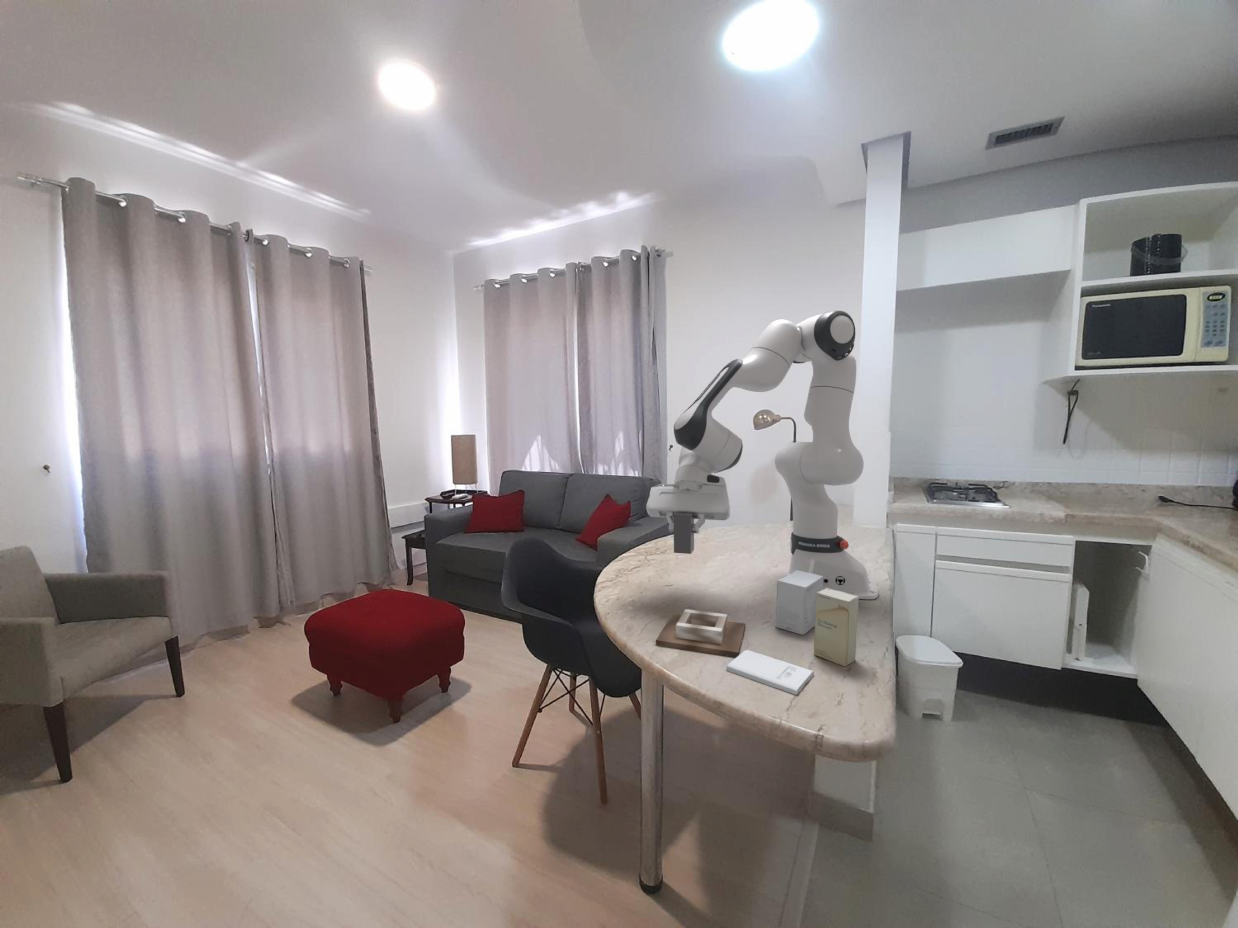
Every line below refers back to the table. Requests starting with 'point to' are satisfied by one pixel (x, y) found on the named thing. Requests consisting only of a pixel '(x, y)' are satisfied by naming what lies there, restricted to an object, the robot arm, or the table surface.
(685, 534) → the plug
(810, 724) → the table surface
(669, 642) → the socket board
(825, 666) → the table surface
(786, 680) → the external hard drive
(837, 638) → the skincare box
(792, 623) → the skincare box
